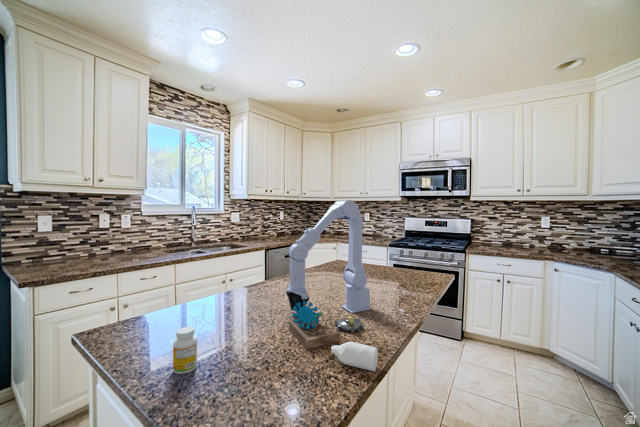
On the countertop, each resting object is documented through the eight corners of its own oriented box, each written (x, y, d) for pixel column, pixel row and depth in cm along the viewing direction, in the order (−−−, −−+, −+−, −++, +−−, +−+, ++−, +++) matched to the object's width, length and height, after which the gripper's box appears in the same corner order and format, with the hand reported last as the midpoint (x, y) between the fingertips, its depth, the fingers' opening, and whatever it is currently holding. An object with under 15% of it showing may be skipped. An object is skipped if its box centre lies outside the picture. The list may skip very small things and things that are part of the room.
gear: (294, 328, 90) (291, 299, 97) (289, 335, 94) (287, 307, 101) (325, 328, 94) (321, 300, 101) (319, 335, 98) (315, 308, 104)
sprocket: (332, 321, 100) (333, 308, 100) (357, 320, 101) (357, 307, 101) (339, 333, 90) (339, 320, 90) (366, 332, 91) (366, 318, 91)
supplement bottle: (178, 362, 73) (178, 325, 72) (200, 361, 73) (200, 325, 73) (169, 375, 67) (169, 335, 67) (192, 374, 68) (192, 334, 68)
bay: (318, 323, 98) (318, 316, 98) (339, 341, 85) (339, 332, 85) (288, 329, 93) (288, 321, 93) (306, 349, 80) (306, 340, 80)
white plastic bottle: (335, 353, 78) (335, 334, 78) (378, 363, 73) (378, 342, 73) (327, 365, 72) (327, 343, 72) (373, 376, 68) (373, 353, 68)
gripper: (280, 273, 108) (280, 307, 109) (294, 282, 95) (294, 321, 96) (297, 271, 111) (297, 305, 112) (313, 280, 98) (312, 318, 99)
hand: (297, 312), depth 104 cm, fingers open, 6 cm apart
